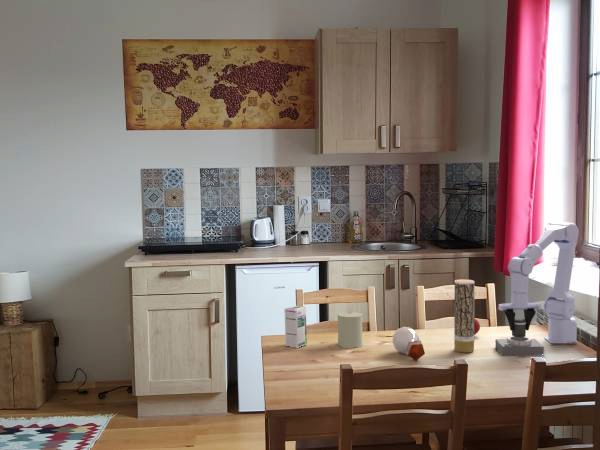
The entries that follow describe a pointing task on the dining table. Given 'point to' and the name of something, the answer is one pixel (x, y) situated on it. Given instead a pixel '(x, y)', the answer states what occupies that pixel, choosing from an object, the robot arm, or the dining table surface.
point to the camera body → (519, 346)
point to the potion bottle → (408, 343)
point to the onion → (476, 326)
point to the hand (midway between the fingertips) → (519, 329)
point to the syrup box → (295, 326)
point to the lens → (519, 327)
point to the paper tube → (464, 316)
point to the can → (350, 329)
